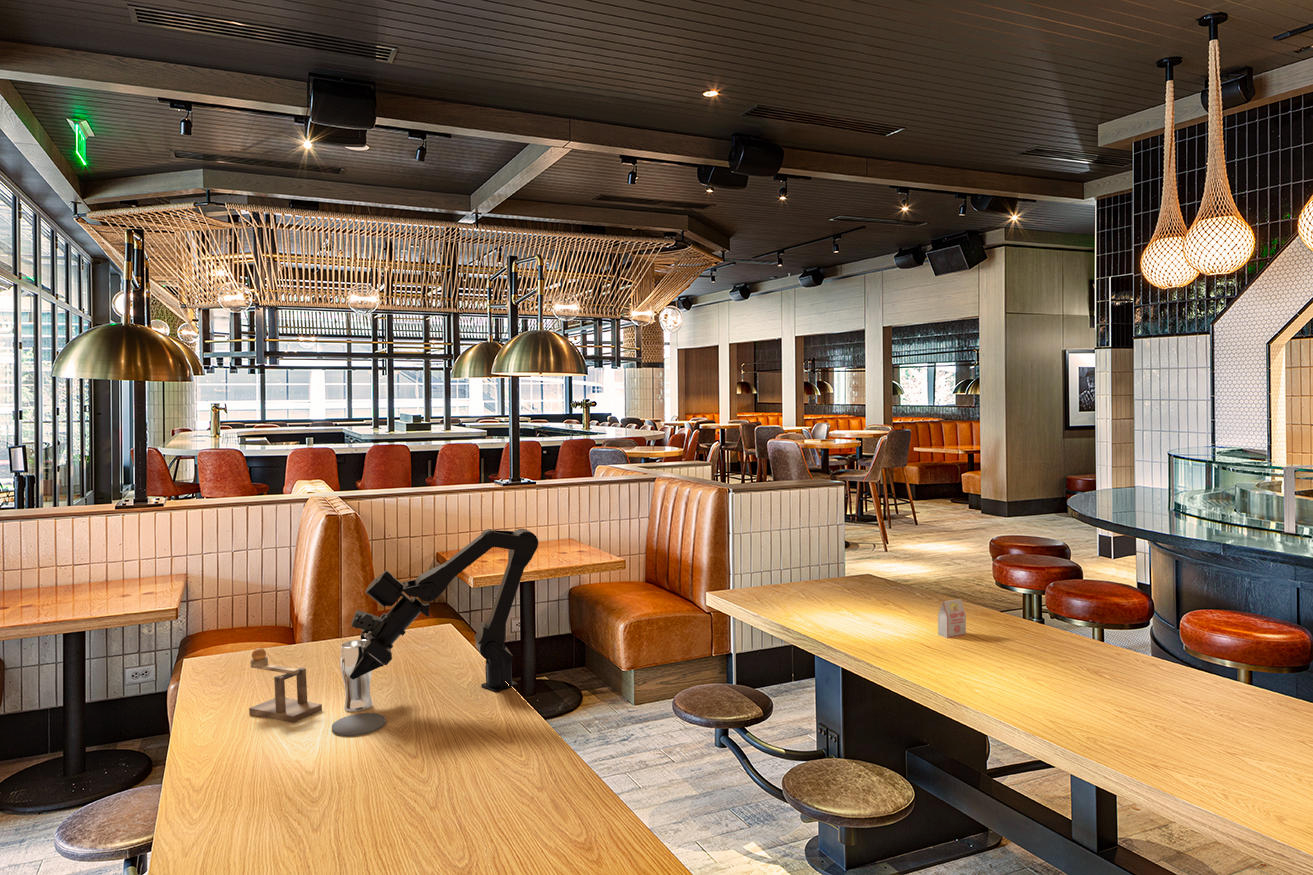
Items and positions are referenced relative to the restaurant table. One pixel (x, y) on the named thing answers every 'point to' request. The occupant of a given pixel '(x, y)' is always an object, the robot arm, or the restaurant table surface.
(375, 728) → the mat
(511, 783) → the restaurant table surface
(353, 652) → the beer glass
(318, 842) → the restaurant table surface
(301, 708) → the toy catapult
